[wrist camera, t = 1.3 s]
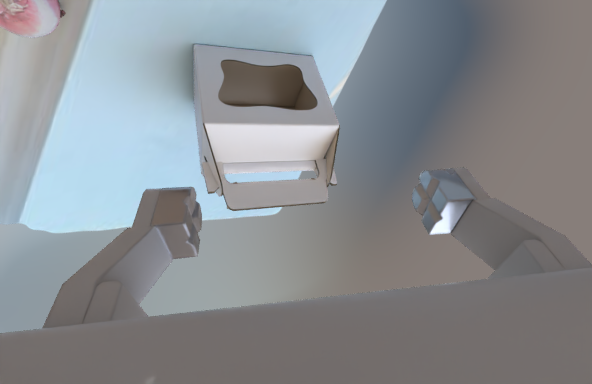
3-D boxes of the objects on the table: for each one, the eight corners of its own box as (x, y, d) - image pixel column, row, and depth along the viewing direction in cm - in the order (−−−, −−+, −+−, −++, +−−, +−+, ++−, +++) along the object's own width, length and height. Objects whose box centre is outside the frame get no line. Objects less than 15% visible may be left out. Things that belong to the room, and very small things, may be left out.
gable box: (192, 102, 60) (205, 230, 48) (191, 42, 49) (208, 188, 37) (295, 106, 68) (330, 217, 55) (314, 55, 57) (363, 179, 45)
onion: (53, -39, 36) (44, -5, 33) (72, 22, 43) (67, 55, 39) (-35, -55, 33) (-54, -20, 30) (0, 13, 40) (-12, 48, 36)
